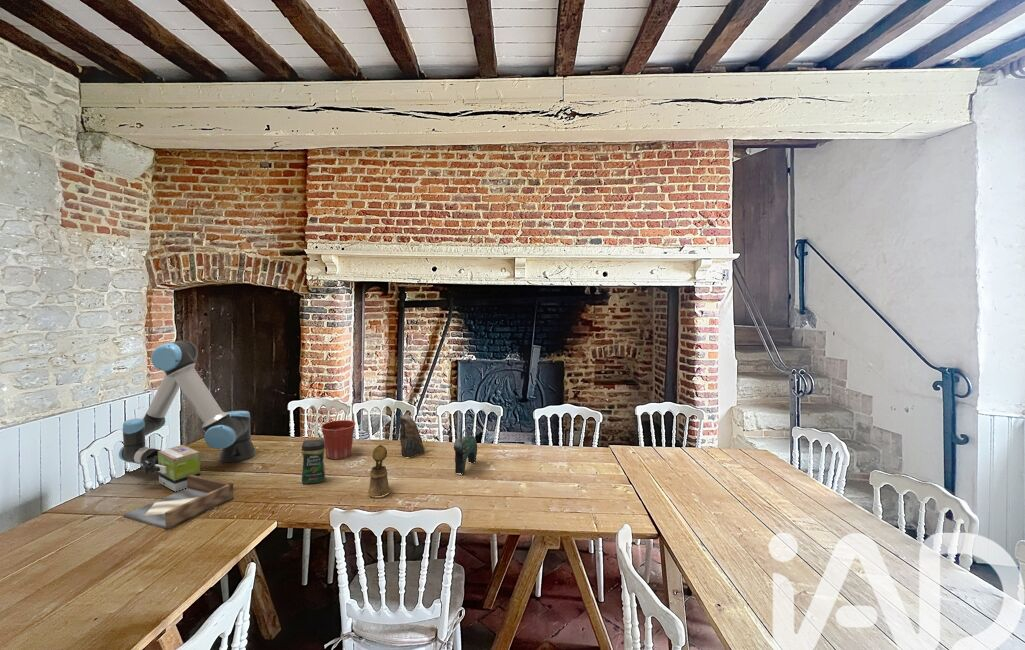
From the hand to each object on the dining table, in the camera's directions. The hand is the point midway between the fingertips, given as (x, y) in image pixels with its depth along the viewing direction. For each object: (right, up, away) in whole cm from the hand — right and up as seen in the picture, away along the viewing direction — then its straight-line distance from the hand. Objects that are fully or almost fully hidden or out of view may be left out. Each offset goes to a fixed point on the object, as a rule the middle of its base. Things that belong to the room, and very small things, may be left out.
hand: (183, 464), depth 191 cm
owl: (+90, -7, +40) cm, 99 cm away
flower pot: (+54, -7, +35) cm, 65 cm away
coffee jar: (+54, -9, +6) cm, 55 cm away
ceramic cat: (+120, -9, +23) cm, 122 cm away
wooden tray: (+14, -11, -20) cm, 26 cm away
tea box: (-1, -9, 0) cm, 9 cm away
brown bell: (+86, -11, -3) cm, 87 cm away
